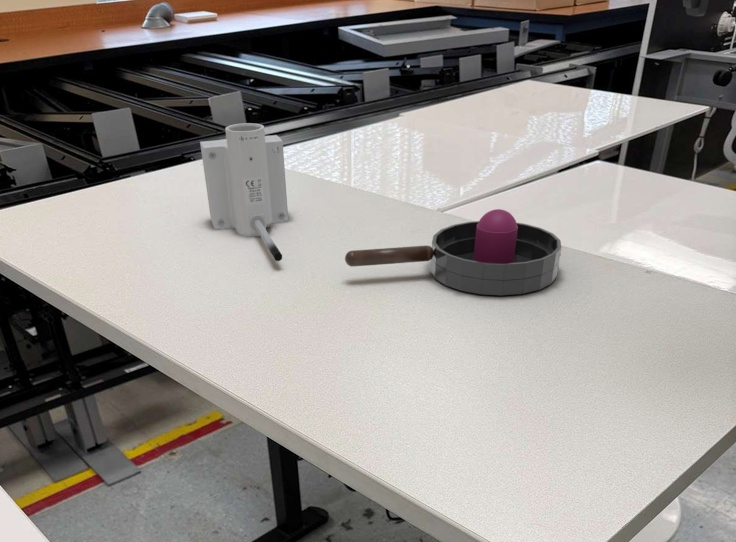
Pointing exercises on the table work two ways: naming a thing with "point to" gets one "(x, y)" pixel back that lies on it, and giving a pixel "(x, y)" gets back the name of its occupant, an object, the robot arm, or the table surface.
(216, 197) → the electronic device
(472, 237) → the pan
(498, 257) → the magenta domed cylinder
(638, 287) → the table surface
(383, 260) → the pan handle
